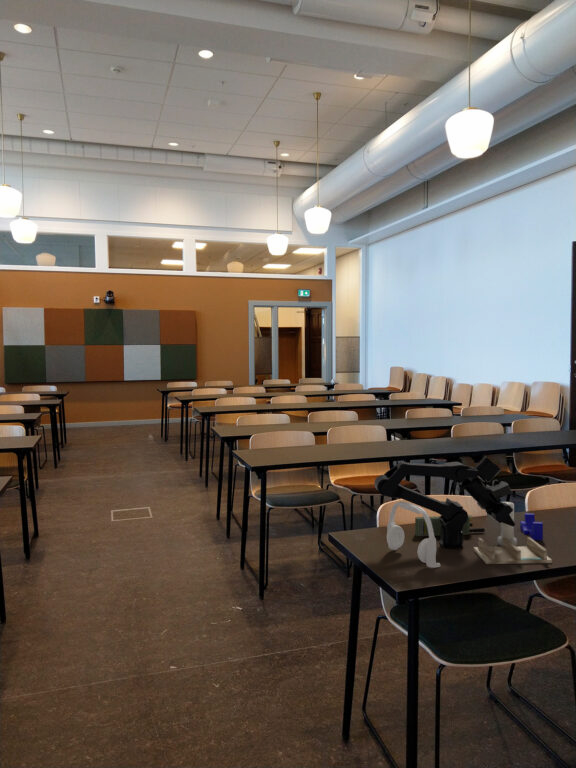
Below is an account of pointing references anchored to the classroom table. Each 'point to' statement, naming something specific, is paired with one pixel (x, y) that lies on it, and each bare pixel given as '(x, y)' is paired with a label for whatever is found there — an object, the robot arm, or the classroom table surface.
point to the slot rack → (512, 553)
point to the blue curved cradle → (532, 527)
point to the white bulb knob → (507, 529)
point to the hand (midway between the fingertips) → (511, 523)
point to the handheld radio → (436, 524)
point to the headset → (397, 536)
